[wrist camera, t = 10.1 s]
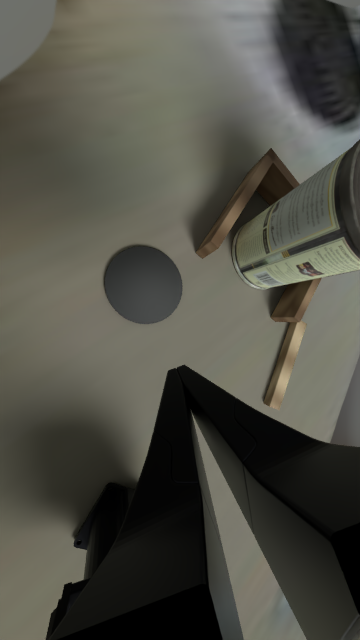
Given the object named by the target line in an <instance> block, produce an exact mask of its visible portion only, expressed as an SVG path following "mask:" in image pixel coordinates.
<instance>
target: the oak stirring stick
mask: <svg viewBox="0 0 360 640" xmlns="http://www.w3.org/2000/svg"><path fill="white" fill-rule="evenodd" d="M306 325H307V324H306V323H304V322H302V321H300V322H290V325H289V328H288V331H287V334H286V337H285V340H284V343H283V346H282V349H281V352H280V355H279V358H278V361H277V364H276V367H275V370H274V373H273V376H272V379H271V382H270V385H269V388H268V391H267V394H266V397H265V400H264V404H266V405H268V406H269V407H272V408H275V409H278V410H279V409H280V406H281V403H282V400H283V397H284V394H285V390H286V387H287V384H288V381H289V378H290V375H291V372H292V369H293V366H294V362H295V359H296V356H297V353H298V350H299V347H300V344H301V341H302V338H303V334H304V331H305V328H306Z"/></svg>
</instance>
